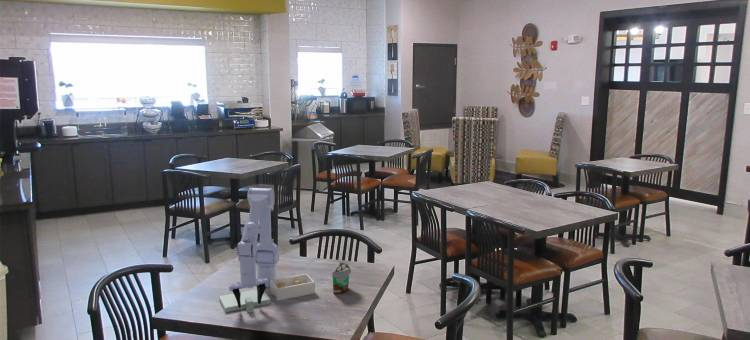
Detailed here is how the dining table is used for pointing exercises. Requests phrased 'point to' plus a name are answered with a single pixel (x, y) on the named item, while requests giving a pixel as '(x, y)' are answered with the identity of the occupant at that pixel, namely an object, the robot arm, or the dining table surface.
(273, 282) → the tub
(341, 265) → the food container
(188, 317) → the dining table surface
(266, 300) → the lid
